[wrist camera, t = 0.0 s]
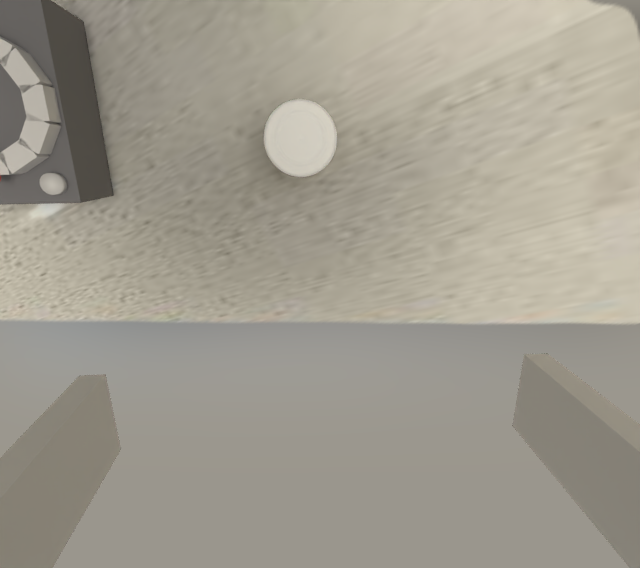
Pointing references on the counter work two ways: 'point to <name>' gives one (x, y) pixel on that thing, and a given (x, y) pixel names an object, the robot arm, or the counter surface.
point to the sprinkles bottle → (300, 138)
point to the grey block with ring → (48, 108)
